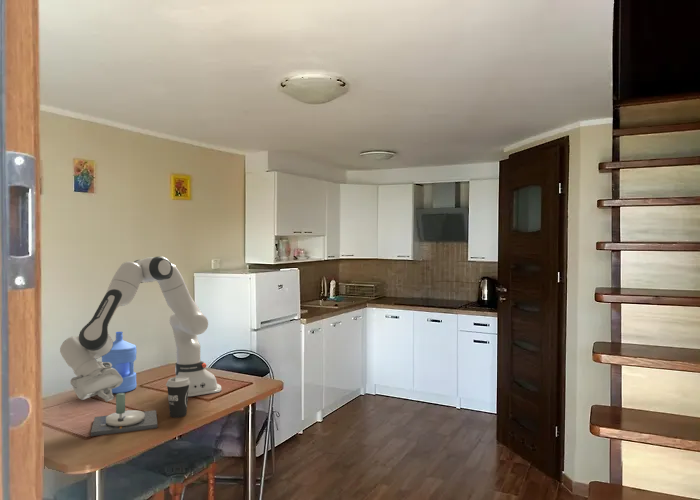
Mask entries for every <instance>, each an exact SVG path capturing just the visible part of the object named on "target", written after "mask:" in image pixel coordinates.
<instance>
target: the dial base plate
mask: <svg viewBox="0 0 700 500" xmlns="http://www.w3.org/2000/svg"><path fill="white" fill-rule="evenodd" d="M143 412H144V413H145V418H144V420H143V421H141V422H139V423H136V424H133V425H128V426H110V425H107V424H106V417H107V416H108V415H101V416H94V418H93V421H92V422H93V423H92V426H91V430H90V437H95V436H104V435H112V434H113V435H114V434H119V433H120V434H121V433H122V434H123V433H128V432H135V431H143V430H153V429H158V417H157V409H155V410H154V409H153V410H145V411H144V410H143Z"/></svg>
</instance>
